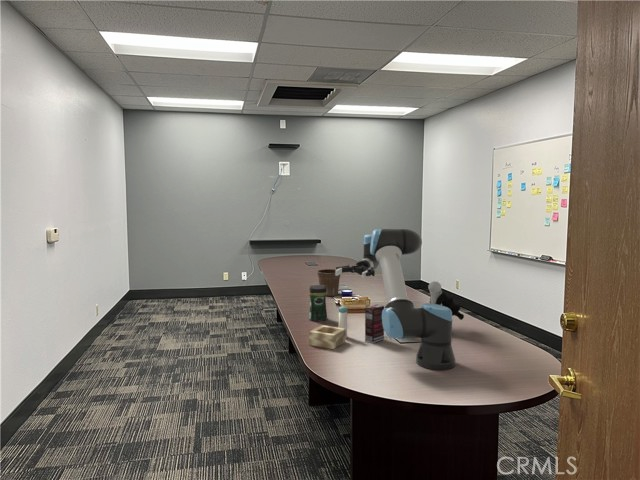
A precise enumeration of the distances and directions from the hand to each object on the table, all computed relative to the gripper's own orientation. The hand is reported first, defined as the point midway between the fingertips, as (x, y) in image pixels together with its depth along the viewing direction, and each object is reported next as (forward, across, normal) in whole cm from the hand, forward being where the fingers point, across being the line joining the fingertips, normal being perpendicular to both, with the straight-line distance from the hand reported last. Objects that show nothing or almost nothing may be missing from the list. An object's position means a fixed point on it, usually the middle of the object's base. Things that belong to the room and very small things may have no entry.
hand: (349, 274), depth 223 cm
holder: (+20, +2, -28) cm, 34 cm away
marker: (+8, -1, -28) cm, 29 cm away
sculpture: (-22, -41, -29) cm, 55 cm away
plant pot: (-75, +43, -32) cm, 92 cm away
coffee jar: (-15, +23, -30) cm, 41 cm away
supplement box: (+7, -16, -28) cm, 33 cm away
